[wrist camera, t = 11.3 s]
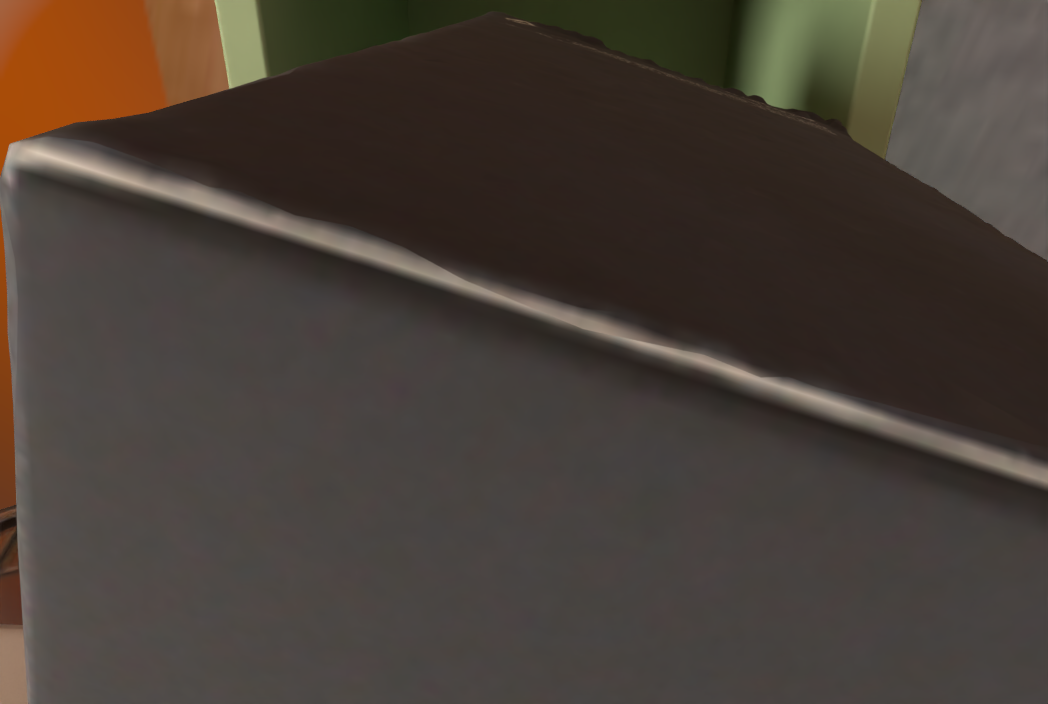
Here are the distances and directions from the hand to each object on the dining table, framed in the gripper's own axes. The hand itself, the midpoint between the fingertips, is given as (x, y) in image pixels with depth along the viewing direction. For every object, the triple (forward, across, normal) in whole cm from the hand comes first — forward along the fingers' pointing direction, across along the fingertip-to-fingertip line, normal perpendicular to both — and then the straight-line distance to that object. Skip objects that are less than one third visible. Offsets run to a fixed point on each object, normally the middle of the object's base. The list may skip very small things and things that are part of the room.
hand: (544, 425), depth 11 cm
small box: (+3, 0, 0) cm, 3 cm away
